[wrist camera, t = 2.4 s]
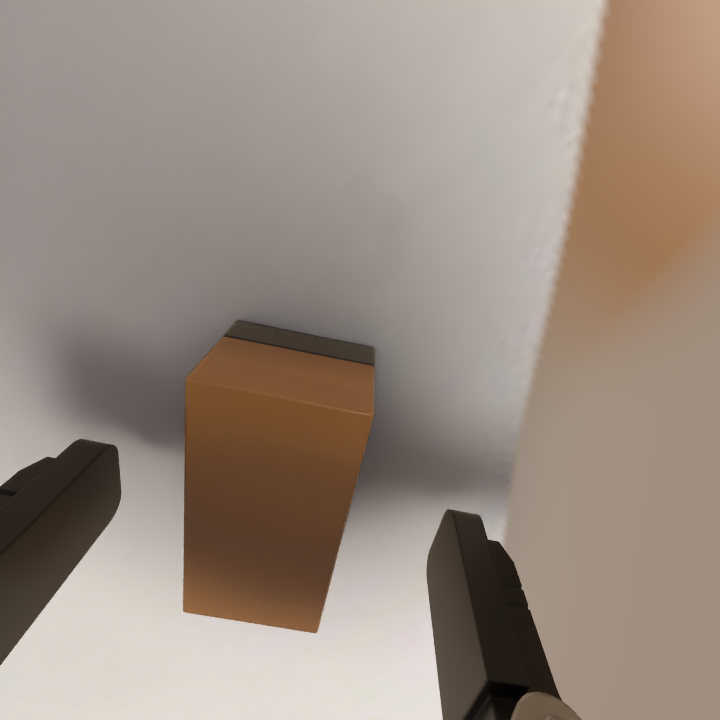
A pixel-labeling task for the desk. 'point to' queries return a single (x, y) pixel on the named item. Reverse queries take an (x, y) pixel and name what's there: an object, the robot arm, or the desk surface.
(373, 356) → the eraser
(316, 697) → the desk surface
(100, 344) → the desk surface
